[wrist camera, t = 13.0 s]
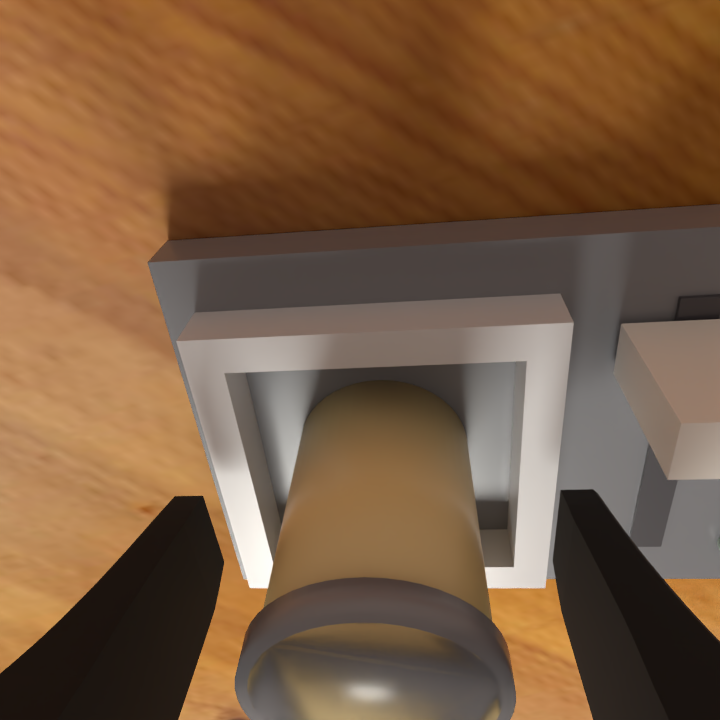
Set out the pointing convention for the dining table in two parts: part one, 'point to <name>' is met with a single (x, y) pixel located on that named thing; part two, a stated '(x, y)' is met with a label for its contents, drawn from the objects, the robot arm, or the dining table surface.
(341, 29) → the dining table surface
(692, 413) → the lever
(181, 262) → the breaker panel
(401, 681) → the beige cylinder
